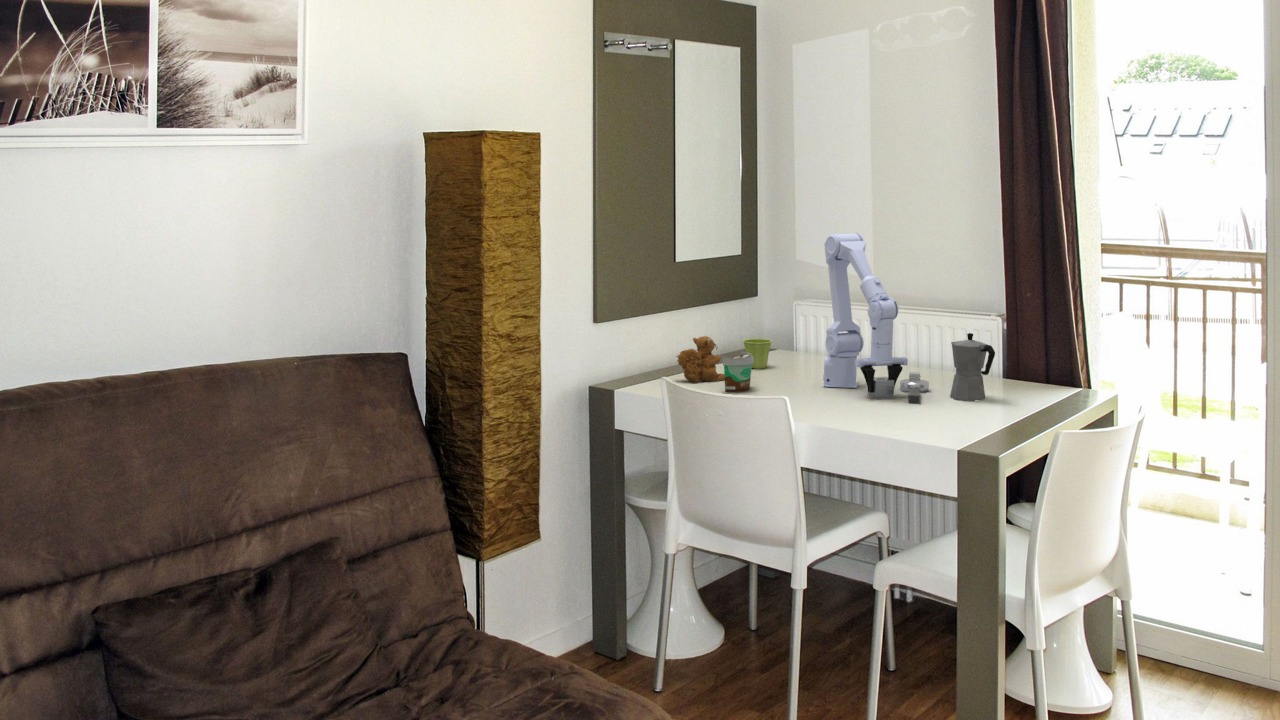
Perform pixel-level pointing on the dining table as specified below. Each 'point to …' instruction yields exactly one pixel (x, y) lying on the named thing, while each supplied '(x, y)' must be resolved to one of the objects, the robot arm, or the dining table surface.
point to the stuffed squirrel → (700, 361)
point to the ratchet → (914, 386)
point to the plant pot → (758, 351)
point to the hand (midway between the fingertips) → (880, 391)
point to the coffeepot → (970, 368)
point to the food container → (738, 372)
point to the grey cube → (882, 388)
